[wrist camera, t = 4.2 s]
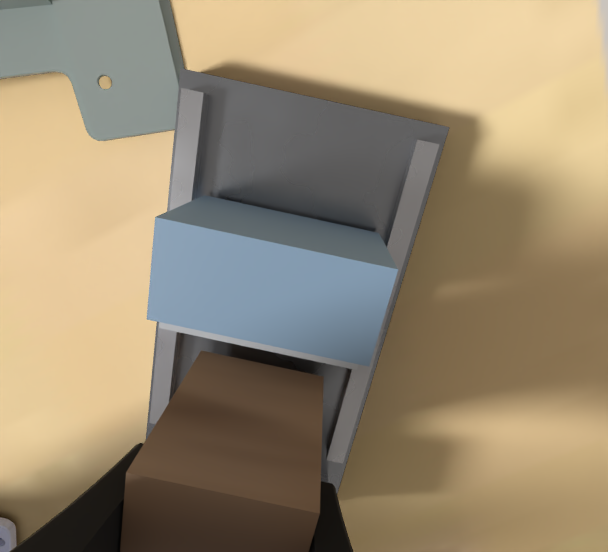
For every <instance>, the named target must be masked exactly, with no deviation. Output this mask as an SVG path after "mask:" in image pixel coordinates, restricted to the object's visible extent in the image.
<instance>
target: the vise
mask: <svg viewBox="0 0 608 552" xmlns="http://www.w3.org/2000/svg"><path fill="white" fill-rule="evenodd" d="M448 130H449V127H446V126H441V125H437V124H432V123H427V122H423V121H418V120H414V119H409V118H405V117H400V116H396V115H391V114H386V113H382V112H377V111H373V110H368V109H364V108H359V107H355V106H350V105H345V104H341V103H336V102H332V101H327V100H323V99H318V98H314V97H309V96H305V95H300V94H295V93H291V92H286V91H282V90H277V89H273V88H268V87H264V86H259V85H254V84H250V83H245V82H241V81H236V80H232V79H227V78H223V77H218V76H213V75H209V74H204V73H200V72H195V71H191V70H186V69H182V68H181V69H180V80H179V90H178V101H177V112H176V122H175V133H174V144H173V155H172V165H171V176H170V187H169V197H168V208H167V212H168V211H170V210H172V209H175V208H177V207H179V206H181V205H184V204H186V203H188V202H190V201H193V200H195V199H197V198H199V197H202V196H204V195H206V196H211V197H215V198H220V199H224V200H229V201H234V202H238V203H243V204H248V205H252V206H257V207H261V208H266V209H271V210H275V211H280V212H284V213H289V214H294V215H298V216H303V217H308V218H312V219H317V220H321V221H326V222H331V223H335V224H340V225H345V226H349V227H354V228H358V229H363V230H368V231H372V232H377V233H379V234H380V236H381V238H382V240H383V242H384V243H385V245H386V247H387V249H388V251H389V253H390V255H391V257H392V258H393V260H394V262H395V264H396V266H397V268H398V272H397V276H396V279H395V282H394V286H393V289H392V292H391V296H390V299H389V303H388V306H387V309H386V313H385V316H384V319H383V323H382V326H381V329H380V333H379V336H378V339H377V343H376V346H375V349H374V353H373V356H372V359H371V363H370V366H369V367H368V366H363V365H359V364H358V368H357V370H354V369H349V368H345V367H340V366H335V365H331V364H326V363H321V362H316V361H312V360H307V359H302V358H298V357H293V356H288V355H284V354H279V353H274V352H269V351H265V350H260V349H255V348H251V347H246V346H241V345H237V344H232V343H227V342H223V341H218V340H213V339H208V338H204V337H199V336H194V335H190V334H185V333H180V332H176V331H171V330H166V329H162V328H159V322H157V326H156V337H155V348H154V358H153V369H152V380H151V391H150V401H149V412H148V423H147V433H146V439H147V438H148V436H149V434H150V433H151V431H152V430H153V428H154V426H155V425H156V423H157V421H158V420H159V418H160V417H161V415H162V413H163V412H164V410H165V408H166V407H167V405H168V404H169V402H170V400H171V399H172V397H173V395H174V394H175V392H176V391H177V389H178V387H179V386H180V384H181V382H182V381H183V379H184V378H185V376H186V374H187V373H188V371H189V369H190V368H191V366H192V365H193V363H194V361H195V360H196V358H197V356H198V355H199V353H200V352H201V350H202V351H206V352H211V353H216V354H220V355H225V356H230V357H234V358H239V359H244V360H248V361H253V362H258V363H262V364H267V365H272V366H276V367H281V368H286V369H290V370H295V371H300V372H304V373H309V374H314V375H318V376H323V377H324V381H323V417H322V453H321V481H323V482H327V483H332V484H333V485H334V486H335V488H336V493H338V489H339V486H340V483H341V480H342V476H343V473H344V470H345V467H346V463H347V460H348V457H349V454H350V450H351V447H352V444H353V440H354V437H355V434H356V431H357V427H358V424H359V421H360V418H361V414H362V411H363V408H364V405H365V401H366V398H367V395H368V392H369V388H370V385H371V382H372V378H373V375H374V372H375V369H376V365H377V362H378V359H379V356H380V352H381V349H382V346H383V343H384V339H385V336H386V333H387V329H388V326H389V323H390V320H391V316H392V313H393V310H394V307H395V303H396V300H397V297H398V294H399V290H400V287H401V284H402V280H403V277H404V274H405V271H406V267H407V264H408V261H409V258H410V254H411V251H412V248H413V245H414V241H415V238H416V235H417V231H418V228H419V225H420V222H421V218H422V215H423V212H424V209H425V205H426V202H427V199H428V196H429V192H430V189H431V186H432V182H433V179H434V176H435V173H436V169H437V166H438V163H439V160H440V156H441V153H442V150H443V147H444V143H445V140H446V137H447V134H448Z"/></svg>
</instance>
